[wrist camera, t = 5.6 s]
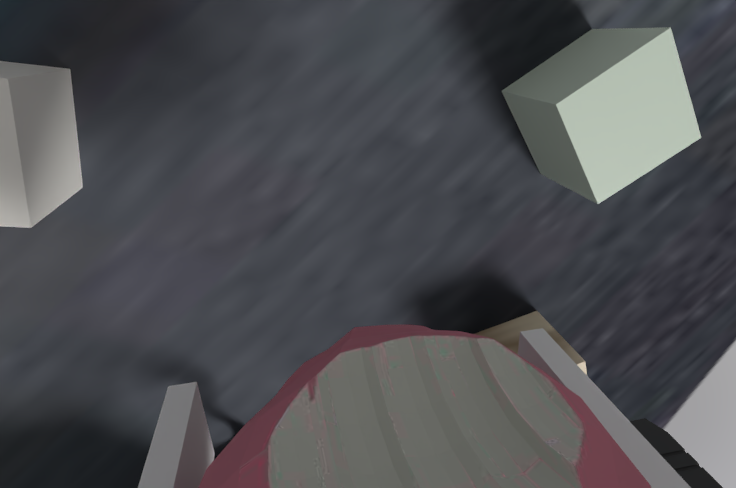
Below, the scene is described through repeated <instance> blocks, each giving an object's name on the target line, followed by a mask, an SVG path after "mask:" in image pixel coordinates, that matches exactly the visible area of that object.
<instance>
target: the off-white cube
mask: <svg viewBox="0 0 736 488" xmlns="http://www.w3.org/2000/svg"><path fill="white" fill-rule="evenodd" d="M81 188H83V184H82V174H81V165H80V156H79V146H78V137H77V128H76V118H75V109H74V99H73V90H72V81H71V71H70V69H67V68H58V67H49V66H41V65H32V64H23V63H15V62H6V61H0V226H5V227H25V228H31V227H33V226H34V225H35V224H37V223H38V222H39V221H40V220H42V219H43V218H44V217H45V216H47V215H48V214H49V213H51V212H52V211H53V210H54V209H56V208H57V207H58V206H60V205H61V204H62V203H63V202H65V201H66V200H67V199H69V198H70V197H71V196H72V195H74V194H75V193H76V192H78V191H79V190H80V189H81Z"/></svg>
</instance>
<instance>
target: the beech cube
mask: <svg viewBox="0 0 736 488" xmlns="http://www.w3.org/2000/svg"><path fill="white" fill-rule="evenodd" d="M541 328H543V329H544V330H545V331H546V332H547V333H548V334H549V335H550V336H551V337H552V339H553V340H554V341H555V342H556V343H557V344H558V345H559V346H560V347H561V348H562V349H563V350H564V351H565V353H566V354H567V355H568V356H569V357H570V358H571V359H572V360H573V361H574V362H575V363H576V364H577V365H578V367H579V368H580V369H581V370H582V371H583V372H584V373H585V374H586V375H587V371H586V364H585V361H584V359H583V358H582V357H581V356H580V355H579V354H578V353H577V352H576V351H575V350H574V349H573V348H572V347H571V346H570V345H569V344H568V343H567V342H566V341H565V340H564V339H563V337H562V336H561V335H560V334H559V333H558V332H557V331H556V330H555V329H554V328H553V327H552V326H551V325H550V324H549V323H548V322H547V321H546V320H545V319H544V318H543V317H542V315H541V314H540V313H539V312H538V311H535V312H532V313H529V314H527V315H524V316H521V317H518V318H516V319H513V320H510V321H508V322H505V323H502V324H499V325H497V326H494V327H491V328H489V329H486V330H483V331H480V332H478V333H475V335H480V336H484V337H489V338H493V339H495V340H496V341H498V342H499V343H501V344H502V345H504V346H505V347H507V348H509V349H510V350H512V351H513V352H515V353H516V354H518V347H519V337H520V332H521V331H528V330H534V329H541Z"/></svg>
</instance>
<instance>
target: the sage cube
mask: <svg viewBox="0 0 736 488" xmlns="http://www.w3.org/2000/svg"><path fill="white" fill-rule="evenodd" d="M502 94H503V96H504V98H505V100H506V102H507V104H508V106H509V108H510V110H511V113H512V115H513V117H514V119H515V121H516V123H517V125H518V127H519V129H520V132H521V134H522V136H523V138H524V140H525V142H526V144H527V146H528V148H529V151H530V153H531V155H532V157H533V159H534V161H535V163H536V165H537V167H538V170H539V172H540V174H542V175H544V176H546V177H547V178H549V179H551V180H553V181H555V182H557V183H559V184H561V185H563V186H565V187H566V188H568V189H570V190H572V191H574V192H576V193H578V194H580V195H582V196H583V197H585V198H587V199H589V200H591V201H593V202H595V203H597V204H599V203H600V202H602V201H604V200H605V199H607V198H608V197H610V196H611V195H613V194H614V193H616V192H618V191H619V190H621V189H622V188H624V187H625V186H627V185H628V184H630V183H632V182H633V181H635V180H636V179H638V178H639V177H641V176H642V175H644V174H646V173H647V172H649V171H650V170H652V169H653V168H655V167H656V166H658V165H660V164H661V163H663V162H664V161H666V160H667V159H669V158H670V157H672V156H673V155H675V154H677V153H678V152H680V151H681V150H683V149H684V148H686V147H687V146H689V145H691V144H692V143H694V142H695V141H697V140H698V139H700V138H701V135H700V131H699V127H698V124H697V120H696V117H695V113H694V110H693V106H692V102H691V99H690V95H689V92H688V88H687V84H686V81H685V77H684V74H683V70H682V66H681V63H680V59H679V56H678V52H677V49H676V45H675V41H674V38H673V34H672V31H671V28H624V29H591V30H590V31H589V32H587V33H586V34H584V35H583V36H581V37H580V38H578V39H577V40H575V41H574V42H572V43H571V44H569V45H568V46H567V47H565V48H564V49H562V50H561V51H559V52H558V53H556V54H555V55H553V56H552V57H550V58H549V59H547V60H546V61H545V62H543V63H542V64H540V65H539V66H537V67H536V68H534V69H533V70H531V71H530V72H528V73H527V74H526V75H524V76H523V77H521V78H520V79H518V80H517V81H515V82H514V83H512V84H511V85H509V86H508V87H506V88H505V89H504V90H502Z"/></svg>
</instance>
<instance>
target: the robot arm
mask: <svg viewBox="0 0 736 488" xmlns="http://www.w3.org/2000/svg"><path fill="white" fill-rule="evenodd" d="M518 355H519V356H521V357H522V358H524V359H526V360H527V361H529V362H530V363H532V364H533V365H535V366H536V367H538V368H539V369H541V370H543V371H544V372H545V373H547V374H548V375H550V376H551V377H552V378H554V379H555V380H557V381H558V382H560V383H561V384H562V385H564V386H565V387H567V388H568V389H570V390H571V391H572V392H574V393H575V394H577V395H578V396H579V397H581V398H582V399H583V401H584V402H585V403H586V405H587V406H588V407H589V408H590V410H591V411H592V412H593V414H594V415H595V416H596V417H597V419H598V420H599V421H600V423H601V424H602V425H603V426H604V428H605V429H606V430H607V432H608V433H609V434H610V435H611V437H612V438H613V439H614V440H615V442H616V443H617V444H618V445H619V447H620V448H621V449H622V450H623V452H624V453H625V454H626V455H627V457H628V458H629V459H630V460H631V462H632V463H633V464H634V465H635V467H636V468H637V469H638V470H639V472H640V473H641V474H642V475H643V477H644V478H645V479H646V480H647V482H648V483H649V484H650V485H651V488H722V486H721V485H720V484H719V483H718V482H716V480H714V478H713V477H712V476H711V475H710V474H709V473H708V472H706V471H705V470H704V468H701V467H700V466H699V464H698V463H697V461H696V460H695V459H694V458H693V457H692V456H691V455H689V454H688V453H686V452H685V450H684V448H682V446H681V445H680V444H678V442H677V441H676V440H675V439H673V437H672V436H671V435H670V434H668V432H666V431H665V430H663V429H661V428H660V427H658V426H656V425H655V424H653V423H652V422H650V421H648V420H647V419H640V420H634V421H629V420H628V419H627V418H626V417H625V416H624V415H623V414H622V413H621V412H620V411H619V410H618V409H617V407H616V406H615V405H614V404H613V403H612V402H611V401H610V400H609V399H608V398H607V397H606V396H605V395H604V393H603V392H602V391H601V390H600V389H599V388H598V387H597V386H596V385H595V384H594V383H593V382H592V381H591V379H590V378H589V377H588V376H587V375H586V374H585V373H584V372H583V371H582V370H581V369H580V368H579V367H578V365H577V364H576V363H575V362H574V361H573V360H572V359H571V358H570V357H569V356H568V355H567V354H566V353H565V351H564V350H563V349H562V348H561V347H560V346H559V345H558V344H557V343H556V342H555V341H554V340H553V339H552V337H551V336H550V335H549V334H548V333H547V332H546V331H545V330H544V329H543V328H541V329H534V330H528V331H521V332H520V337H519V347H518ZM214 455H215V453H214V449H213V445H212V441H211V437H210V433H209V429H208V425H207V421H206V417H205V413H204V408H203V404H202V400H201V396H200V392H199V388H198V384H197V382H192V383H186V384H179V385H173V386H168V389H167V392H166V396H165V399H164V402H163V406H162V409H161V412H160V416H159V419H158V422H157V426H156V429H155V432H154V436H153V439H152V442H151V445H150V449H149V452H148V455H147V459H146V462H145V465H144V469H143V472H142V475H141V479H140V482H139V485H138V488H198V487H199V485H200V483H201V480H202V478H203V476H204V474H205V471H206V469H207V468H208V467H209V465H210V464H211V463H212V462H213V461H214Z"/></svg>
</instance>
